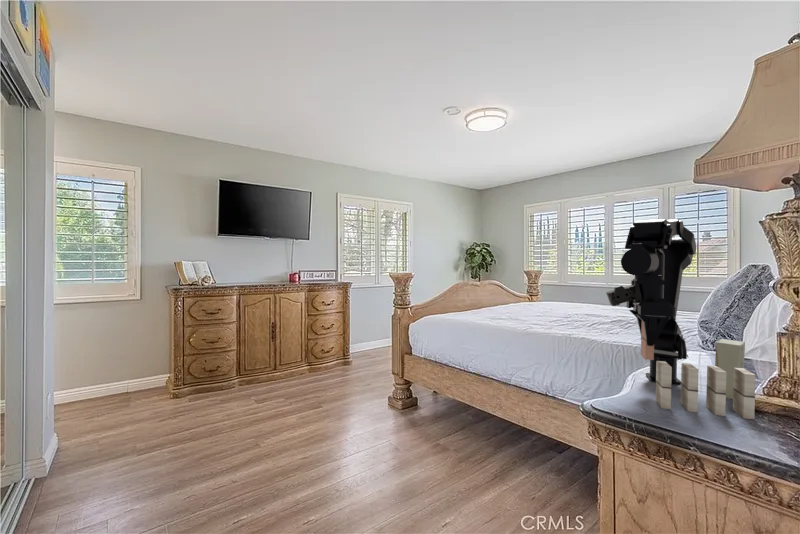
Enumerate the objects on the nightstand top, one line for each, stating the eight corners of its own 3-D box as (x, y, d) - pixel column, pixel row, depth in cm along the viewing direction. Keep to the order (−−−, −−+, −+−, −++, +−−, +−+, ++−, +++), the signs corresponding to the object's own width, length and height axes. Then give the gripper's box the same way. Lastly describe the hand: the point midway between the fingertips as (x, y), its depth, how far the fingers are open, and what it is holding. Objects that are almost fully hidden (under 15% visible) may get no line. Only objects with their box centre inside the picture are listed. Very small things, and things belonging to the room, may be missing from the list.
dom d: (706, 406, 83) (707, 365, 83) (715, 407, 82) (716, 366, 82) (715, 414, 78) (716, 371, 78) (725, 415, 78) (726, 372, 78)
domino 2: (680, 403, 85) (681, 362, 85) (689, 404, 84) (690, 363, 84) (687, 411, 80) (688, 368, 80) (697, 412, 79) (698, 369, 79)
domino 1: (640, 354, 94) (641, 318, 94) (648, 355, 93) (649, 318, 93) (645, 359, 89) (646, 321, 89) (653, 360, 89) (654, 321, 89)
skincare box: (719, 390, 94) (720, 338, 94) (744, 395, 91) (745, 341, 90) (713, 395, 90) (714, 341, 90) (739, 401, 86) (740, 344, 86)
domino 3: (732, 409, 81) (733, 367, 81) (742, 410, 81) (743, 368, 81) (743, 418, 77) (744, 373, 77) (754, 419, 76) (755, 374, 76)
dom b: (655, 400, 86) (656, 360, 86) (664, 401, 86) (665, 361, 86) (661, 407, 82) (662, 366, 81) (670, 409, 81) (671, 367, 81)
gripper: (604, 273, 103) (603, 334, 103) (615, 274, 85) (613, 348, 86) (655, 274, 99) (653, 337, 99) (676, 276, 81) (674, 353, 82)
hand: (647, 343), depth 91 cm, fingers closed on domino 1, 5 cm apart
